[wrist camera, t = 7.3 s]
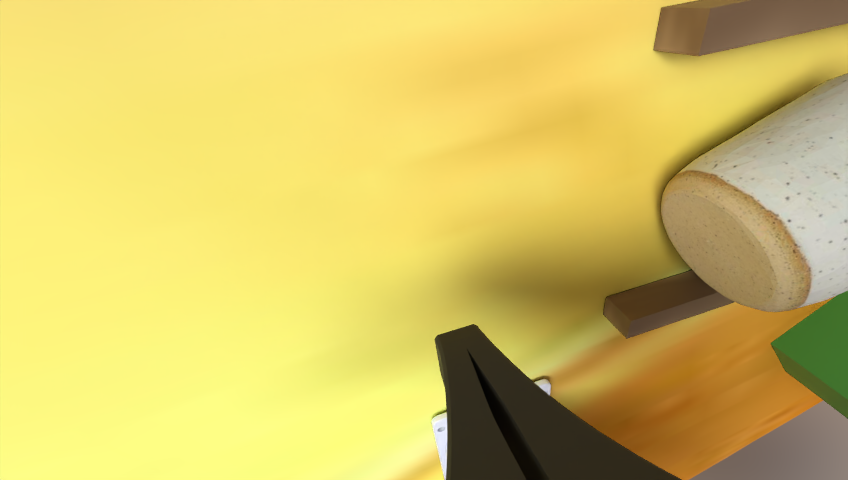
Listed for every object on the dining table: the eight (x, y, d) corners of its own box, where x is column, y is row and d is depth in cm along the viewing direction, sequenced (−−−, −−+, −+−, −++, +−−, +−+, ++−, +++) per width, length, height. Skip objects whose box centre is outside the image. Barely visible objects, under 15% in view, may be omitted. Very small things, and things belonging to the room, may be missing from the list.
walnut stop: (809, 247, 25) (845, 264, 23) (603, 314, 22) (626, 338, 21) (976, -54, 16) (1053, -60, 14) (661, 7, 14) (710, 8, 12)
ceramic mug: (637, 154, 17) (834, 248, 11) (803, 51, 16) (1112, 86, 10) (659, 290, 23) (791, 398, 17) (779, 219, 23) (962, 304, 16)
